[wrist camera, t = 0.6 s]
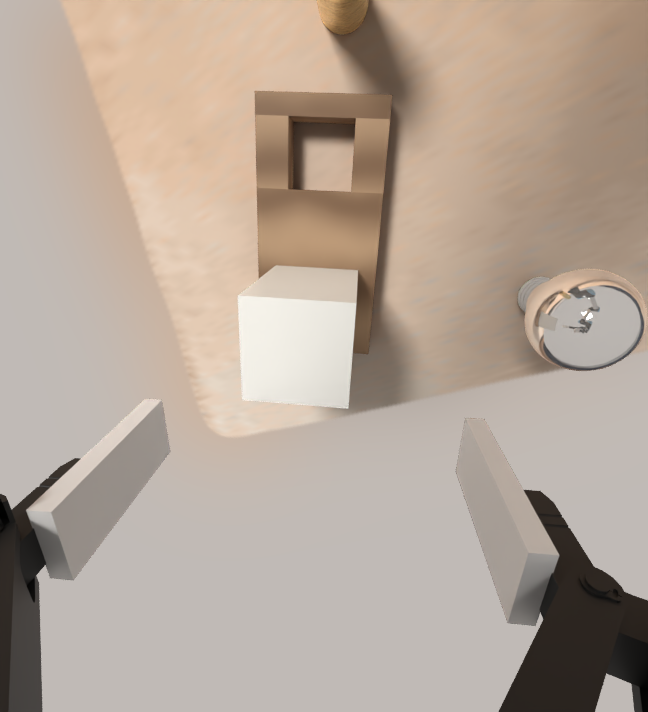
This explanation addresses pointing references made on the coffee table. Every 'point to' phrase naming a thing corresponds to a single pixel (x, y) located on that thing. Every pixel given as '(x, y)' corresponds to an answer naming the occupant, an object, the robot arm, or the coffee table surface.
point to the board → (322, 192)
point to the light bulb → (583, 318)
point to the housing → (298, 336)
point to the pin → (342, 14)
